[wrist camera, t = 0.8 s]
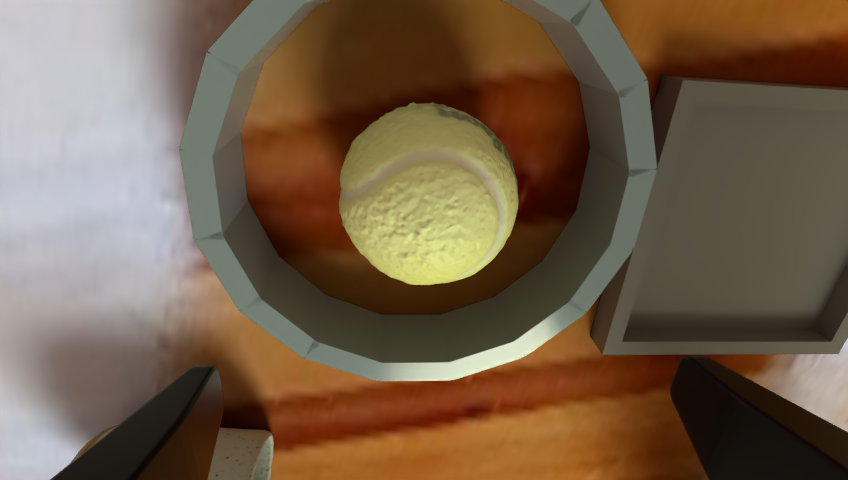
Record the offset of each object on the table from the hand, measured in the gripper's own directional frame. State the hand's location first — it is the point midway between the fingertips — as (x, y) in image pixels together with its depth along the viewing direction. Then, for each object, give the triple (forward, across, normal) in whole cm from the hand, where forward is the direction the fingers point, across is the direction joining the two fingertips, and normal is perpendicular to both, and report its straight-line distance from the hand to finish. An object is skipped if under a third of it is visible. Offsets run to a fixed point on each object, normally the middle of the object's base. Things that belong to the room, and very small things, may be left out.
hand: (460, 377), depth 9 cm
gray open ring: (+12, 0, 0) cm, 12 cm away
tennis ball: (+12, 0, 0) cm, 12 cm away
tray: (+12, -16, +2) cm, 20 cm away
